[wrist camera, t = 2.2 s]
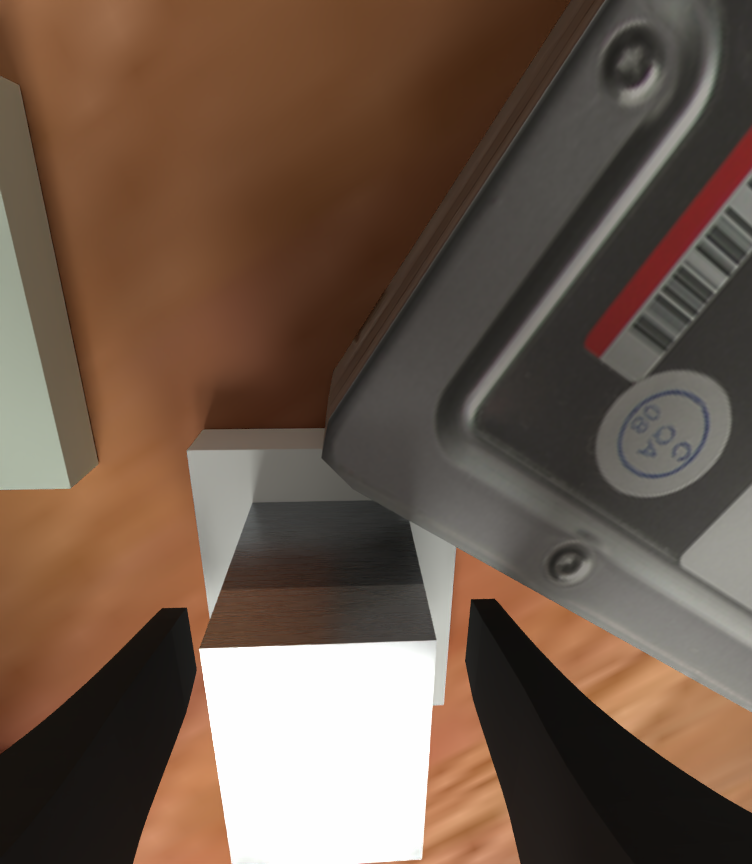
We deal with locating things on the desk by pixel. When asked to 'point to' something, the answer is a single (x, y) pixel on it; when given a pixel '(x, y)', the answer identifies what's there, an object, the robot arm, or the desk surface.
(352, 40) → the desk surface
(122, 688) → the robot arm
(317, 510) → the block
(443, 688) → the stand
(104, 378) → the desk surface
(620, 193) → the hard drive
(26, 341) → the stand
